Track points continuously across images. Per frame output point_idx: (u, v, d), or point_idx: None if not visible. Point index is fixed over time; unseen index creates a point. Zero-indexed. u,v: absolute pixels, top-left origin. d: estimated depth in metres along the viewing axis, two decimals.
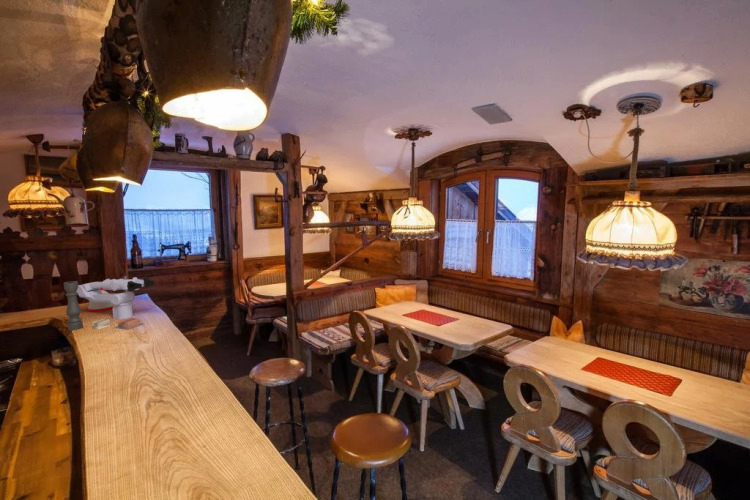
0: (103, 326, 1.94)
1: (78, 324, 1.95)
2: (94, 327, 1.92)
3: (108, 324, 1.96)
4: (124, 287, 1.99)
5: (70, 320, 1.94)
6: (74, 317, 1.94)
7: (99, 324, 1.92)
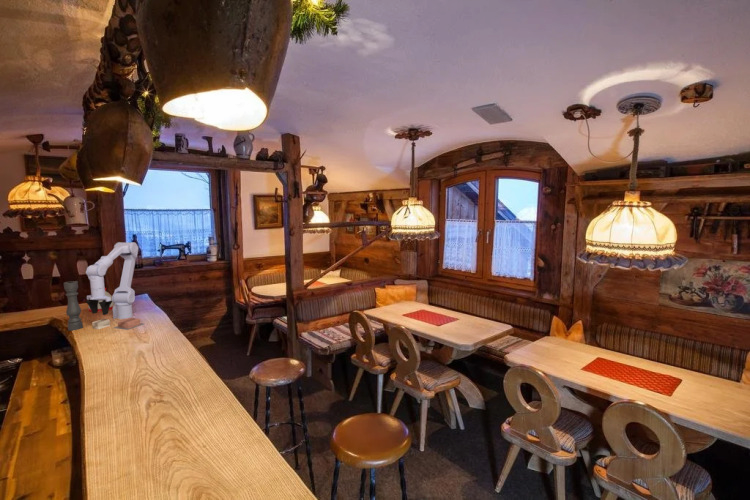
0: (103, 326, 1.94)
1: (78, 324, 1.95)
2: (94, 327, 1.92)
3: (108, 324, 1.96)
4: None
5: (70, 320, 1.94)
6: (74, 317, 1.94)
7: (99, 324, 1.92)
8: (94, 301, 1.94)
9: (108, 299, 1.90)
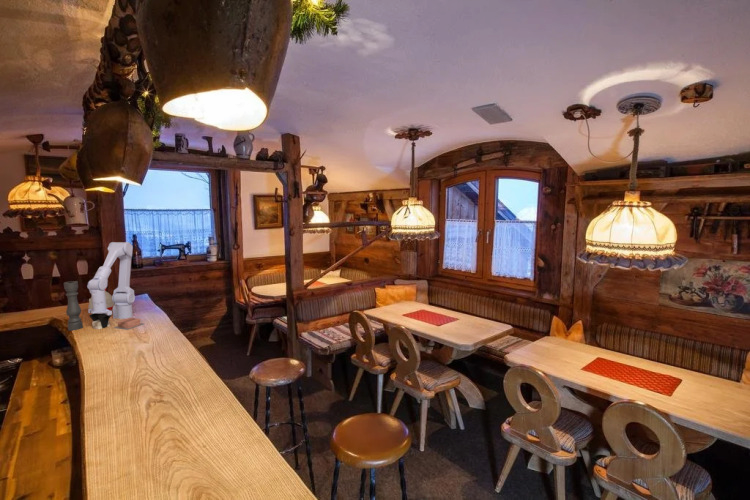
0: None
1: (78, 324, 1.95)
2: (94, 327, 1.92)
3: (108, 324, 1.96)
4: None
5: (70, 320, 1.94)
6: (74, 317, 1.94)
7: (99, 324, 1.91)
8: (97, 315, 1.95)
9: (109, 313, 1.91)
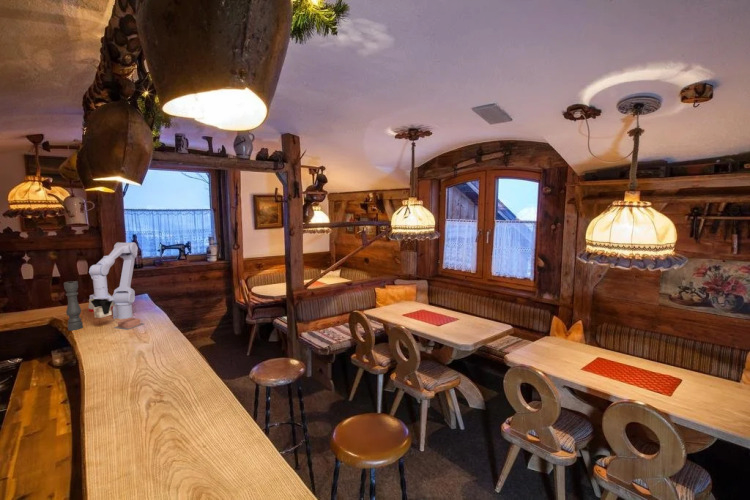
0: None
1: (78, 324, 1.95)
2: (95, 313, 1.91)
3: (109, 310, 1.95)
4: None
5: (70, 320, 1.94)
6: (74, 317, 1.94)
7: (100, 310, 1.91)
8: (99, 301, 1.94)
9: (111, 298, 1.90)
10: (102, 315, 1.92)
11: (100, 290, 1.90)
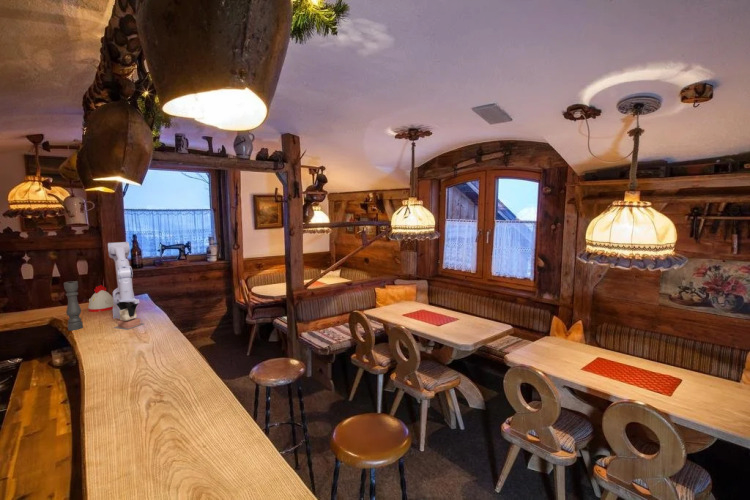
0: None
1: (78, 324, 1.95)
2: (121, 315, 1.93)
3: (135, 313, 1.97)
4: None
5: (70, 320, 1.94)
6: (74, 317, 1.94)
7: (126, 312, 1.93)
8: (124, 303, 1.96)
9: (137, 301, 1.92)
10: (128, 318, 1.94)
11: (126, 293, 1.92)
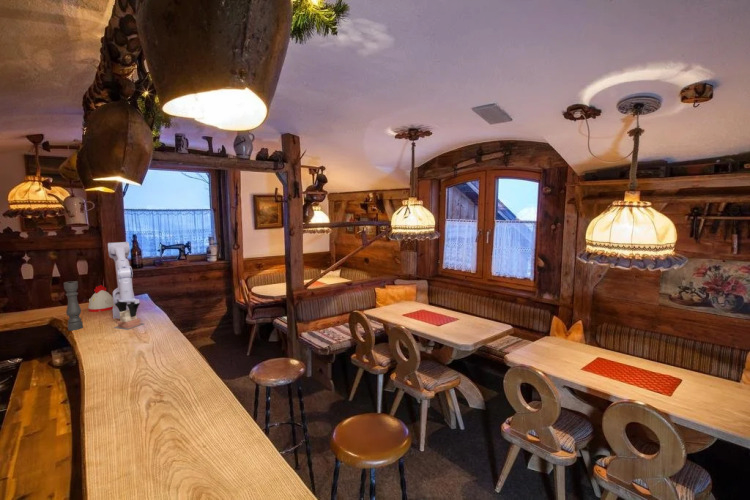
0: (130, 316, 1.95)
1: (78, 324, 1.95)
2: (121, 317, 1.93)
3: None
4: None
5: (70, 320, 1.94)
6: (74, 317, 1.94)
7: (126, 314, 1.93)
8: (123, 303, 1.96)
9: (137, 301, 1.92)
10: (128, 319, 1.94)
11: (126, 293, 1.92)
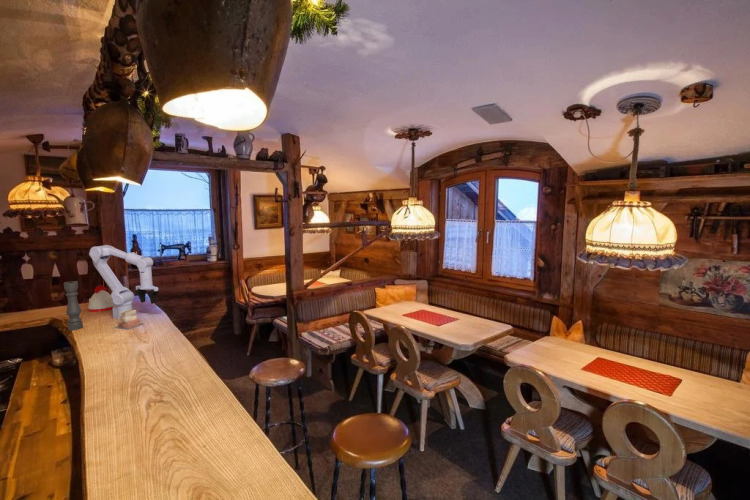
0: (130, 316, 1.95)
1: (78, 324, 1.95)
2: (121, 317, 1.93)
3: (135, 314, 1.97)
4: None
5: (70, 320, 1.94)
6: (74, 317, 1.94)
7: (126, 314, 1.93)
8: (142, 291, 2.11)
9: (156, 289, 2.07)
10: (128, 319, 1.94)
11: (146, 281, 2.07)
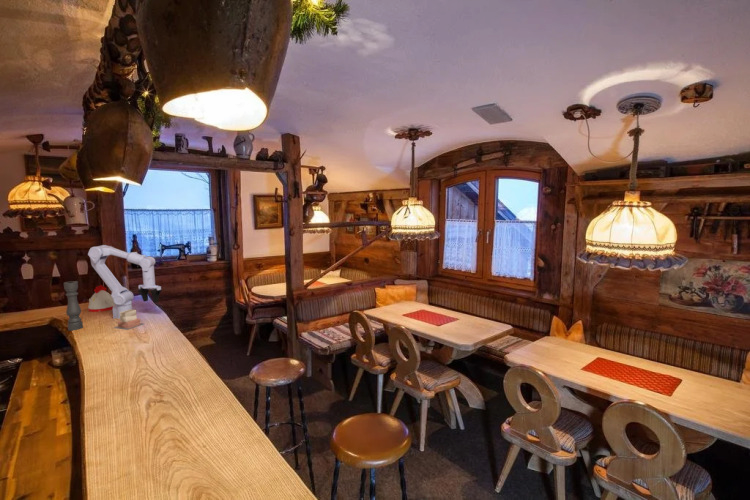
0: (130, 316, 1.95)
1: (78, 324, 1.95)
2: (121, 317, 1.93)
3: (135, 314, 1.97)
4: None
5: (70, 320, 1.94)
6: (74, 317, 1.94)
7: (126, 314, 1.93)
8: (145, 290, 2.13)
9: (159, 288, 2.09)
10: (128, 319, 1.94)
11: (149, 280, 2.09)
